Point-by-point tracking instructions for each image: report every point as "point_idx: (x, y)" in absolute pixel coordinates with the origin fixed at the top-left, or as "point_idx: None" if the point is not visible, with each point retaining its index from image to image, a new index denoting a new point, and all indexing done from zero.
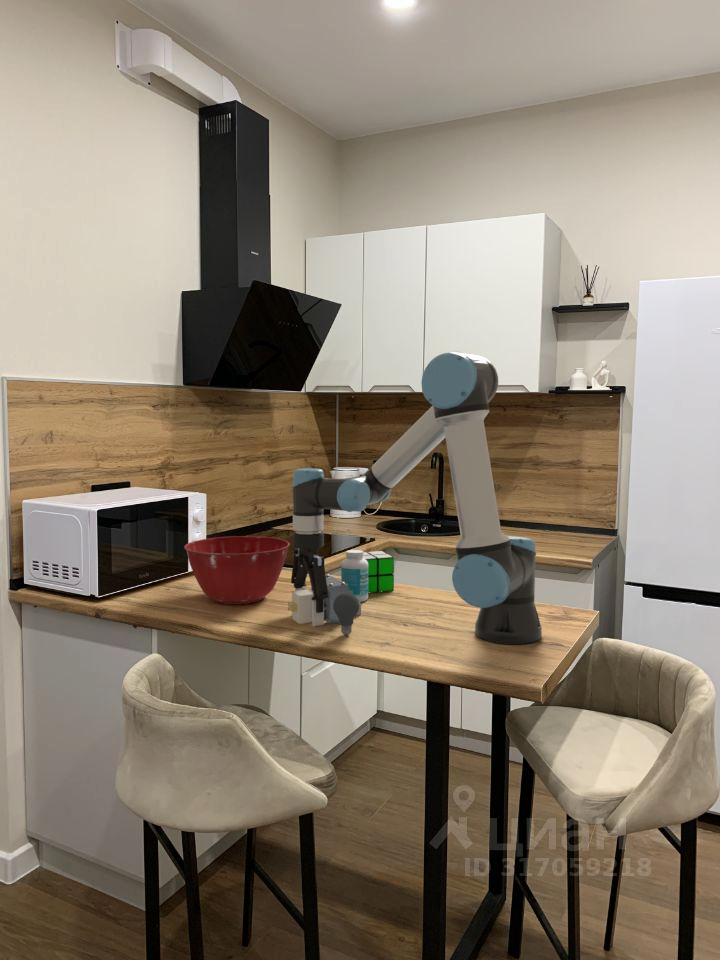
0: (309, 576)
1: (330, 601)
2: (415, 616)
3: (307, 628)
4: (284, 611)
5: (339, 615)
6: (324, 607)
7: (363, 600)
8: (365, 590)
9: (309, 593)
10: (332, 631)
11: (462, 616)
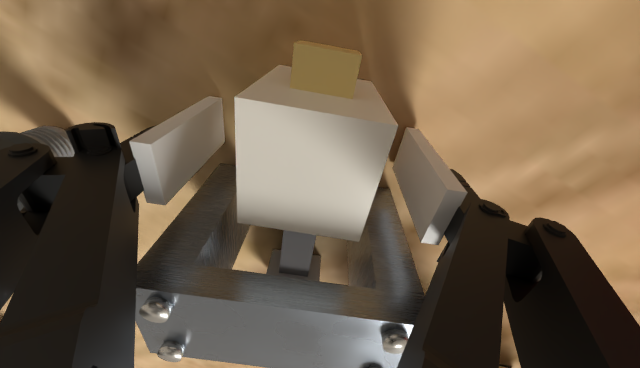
0: (89, 278)
1: (174, 221)
2: None
3: (200, 60)
4: (492, 113)
5: None
6: None
7: None
8: None
9: (263, 189)
10: (130, 124)
11: (170, 365)
